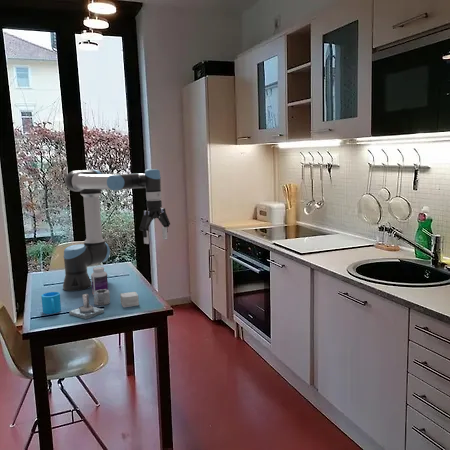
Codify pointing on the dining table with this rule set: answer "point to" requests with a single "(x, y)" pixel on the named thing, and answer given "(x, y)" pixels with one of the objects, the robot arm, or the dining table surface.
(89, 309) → the block
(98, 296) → the tube
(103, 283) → the pill bottle
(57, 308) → the mug
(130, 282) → the dining table surface
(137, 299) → the small box
